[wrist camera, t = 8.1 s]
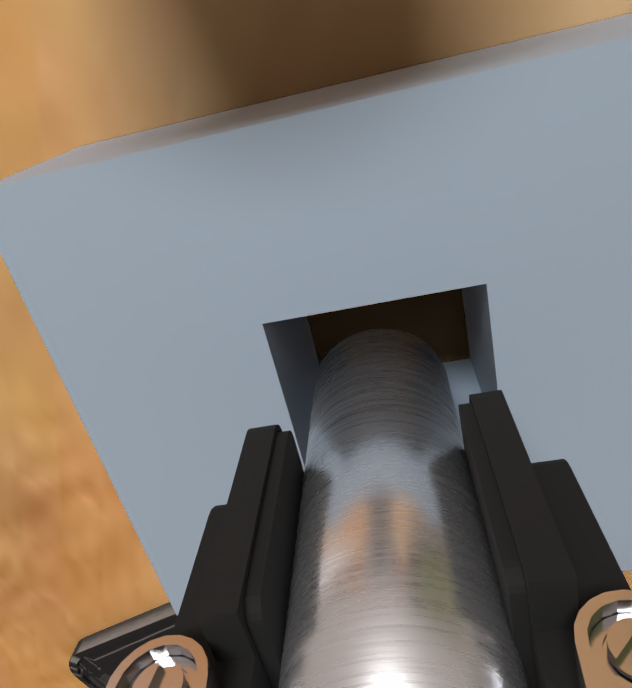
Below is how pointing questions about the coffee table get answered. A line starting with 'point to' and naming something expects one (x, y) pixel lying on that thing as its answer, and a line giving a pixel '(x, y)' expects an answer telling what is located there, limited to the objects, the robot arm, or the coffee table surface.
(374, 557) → the pin
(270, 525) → the robot arm
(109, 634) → the phone
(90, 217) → the hole block
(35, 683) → the coffee table surface
